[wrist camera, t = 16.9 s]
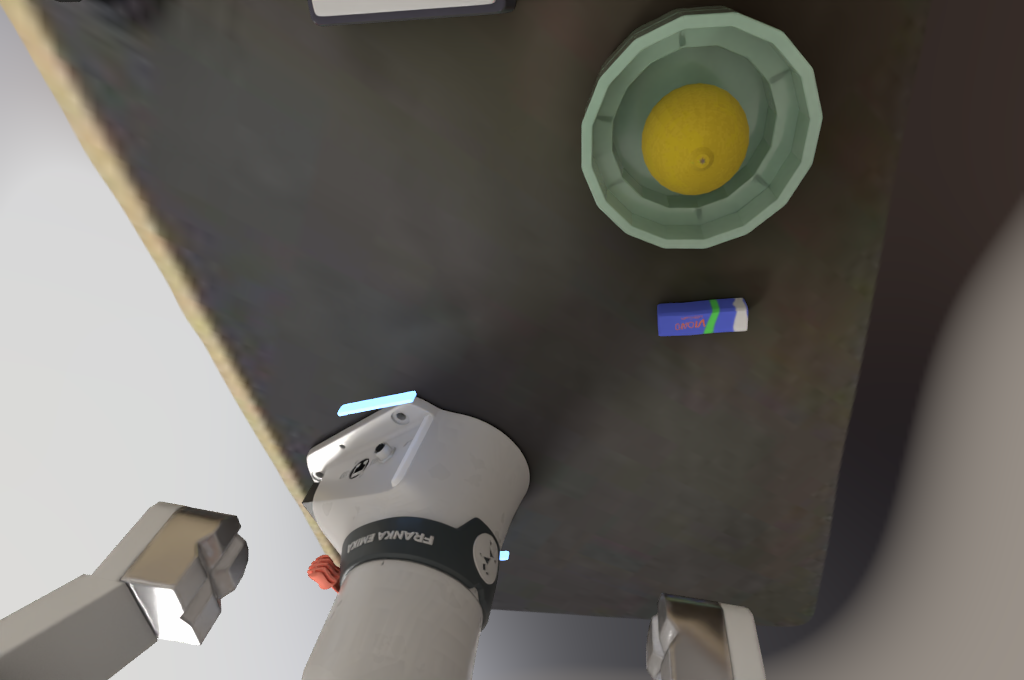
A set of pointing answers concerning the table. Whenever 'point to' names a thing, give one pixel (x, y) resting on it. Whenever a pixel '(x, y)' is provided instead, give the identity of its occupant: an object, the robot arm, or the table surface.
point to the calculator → (400, 10)
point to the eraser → (702, 317)
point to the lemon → (695, 139)
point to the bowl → (709, 60)
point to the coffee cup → (68, 0)
